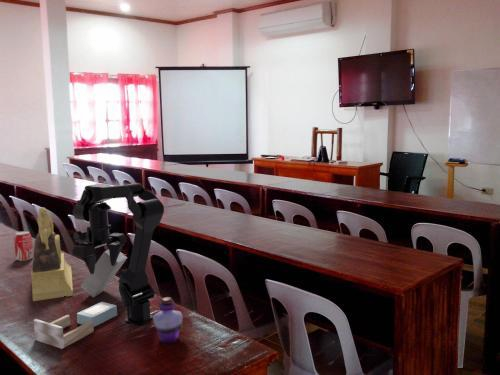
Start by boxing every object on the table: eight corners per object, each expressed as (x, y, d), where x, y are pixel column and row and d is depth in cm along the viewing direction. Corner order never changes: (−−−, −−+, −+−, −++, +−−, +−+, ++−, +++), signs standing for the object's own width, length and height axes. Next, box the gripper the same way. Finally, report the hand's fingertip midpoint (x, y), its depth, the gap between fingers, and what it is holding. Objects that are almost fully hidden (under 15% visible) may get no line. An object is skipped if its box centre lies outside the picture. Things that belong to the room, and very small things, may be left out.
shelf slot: (93, 331, 139) (92, 312, 138) (62, 348, 129) (60, 328, 128) (67, 324, 144) (66, 305, 143) (35, 340, 134) (33, 320, 133)
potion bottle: (190, 339, 133) (188, 298, 131) (164, 350, 127) (162, 307, 125) (172, 329, 139) (171, 290, 137) (147, 339, 133) (144, 298, 132)
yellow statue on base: (73, 295, 166) (66, 212, 161) (33, 301, 162) (24, 215, 157) (71, 271, 192) (65, 198, 187) (36, 275, 188) (29, 201, 183)
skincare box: (93, 298, 162) (119, 265, 159) (77, 284, 163) (103, 251, 160) (104, 290, 171) (129, 258, 167) (90, 277, 171) (114, 245, 168)
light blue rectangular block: (117, 316, 150) (116, 305, 149) (92, 328, 141) (91, 317, 141) (102, 311, 153) (102, 301, 152) (77, 324, 144) (76, 313, 144)
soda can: (17, 257, 210) (14, 231, 208) (34, 256, 212) (32, 230, 211) (14, 262, 204) (11, 235, 202) (32, 260, 206) (30, 233, 204)
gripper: (101, 215, 164) (105, 259, 166) (57, 227, 148) (62, 275, 150) (126, 217, 159) (129, 262, 161) (83, 230, 143) (87, 280, 145)
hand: (102, 269), depth 155 cm, fingers open, 9 cm apart
